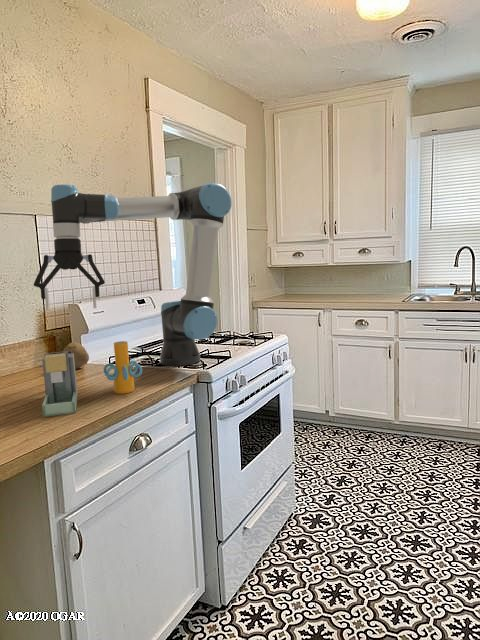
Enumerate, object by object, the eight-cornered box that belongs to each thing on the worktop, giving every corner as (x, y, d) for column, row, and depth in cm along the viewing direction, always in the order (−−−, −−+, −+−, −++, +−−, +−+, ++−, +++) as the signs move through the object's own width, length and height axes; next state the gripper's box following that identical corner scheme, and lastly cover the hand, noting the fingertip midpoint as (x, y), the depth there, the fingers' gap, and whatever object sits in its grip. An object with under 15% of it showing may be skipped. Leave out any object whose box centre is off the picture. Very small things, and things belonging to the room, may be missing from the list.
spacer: (67, 367, 134) (65, 353, 134) (66, 370, 130) (64, 355, 130) (47, 369, 133) (46, 354, 132) (46, 372, 129) (44, 357, 129)
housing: (77, 396, 145) (73, 346, 143) (76, 404, 137) (71, 351, 135) (48, 399, 143) (43, 349, 141) (45, 408, 134) (40, 354, 132)
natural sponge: (59, 369, 184) (56, 342, 183) (82, 364, 190) (79, 339, 189) (69, 372, 178) (66, 345, 176) (92, 367, 183) (90, 341, 182)
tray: (77, 401, 140) (76, 391, 139) (75, 412, 129) (74, 401, 129) (47, 405, 137) (45, 395, 137) (43, 417, 127) (41, 405, 127)
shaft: (73, 369, 152) (71, 350, 151) (69, 387, 131) (67, 364, 130) (52, 371, 150) (50, 352, 149) (45, 389, 129) (43, 367, 128)
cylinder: (103, 389, 152) (99, 341, 150) (137, 384, 156) (133, 337, 154) (109, 399, 141) (105, 347, 139) (146, 393, 145) (142, 343, 143)
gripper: (110, 238, 154) (113, 306, 157) (24, 239, 148) (29, 309, 150) (110, 237, 147) (114, 308, 149) (20, 238, 141) (25, 312, 143)
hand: (71, 309), depth 150 cm, fingers open, 13 cm apart
